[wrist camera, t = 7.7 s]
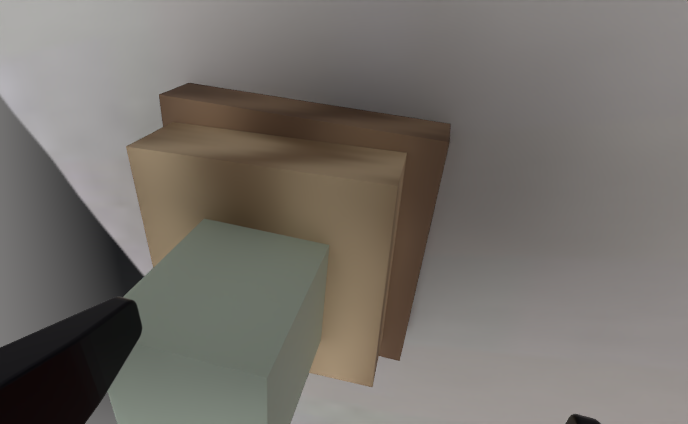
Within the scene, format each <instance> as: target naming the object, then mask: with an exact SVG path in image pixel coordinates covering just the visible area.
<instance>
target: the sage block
mask: <svg viewBox="0 0 688 424" xmlns="http://www.w3.org/2000/svg"><path fill="white" fill-rule="evenodd" d="M328 255H329V245H327V244H323V243H318V242H313V241H309V240H304V239H299V238H294V237H290V236H285V235H280V234H275V233H271V232H266V231H261V230H256V229H252V228H247V227H242V226H237V225H233V224H228V223H223V222H218V221H214V220H209V219H203V220H202V221H201V222H200V223H199V224H198V225H197V226H196V227H195V228H194V229H193V230H192V231H191V232H190V233H189V234H188V235H187V236H186V237H185V238H184V239H183V240H182V241H181V242H180V243H178V244H177V245H176V246H175V247H174V248H173V249H172V250H171V251H170V252H169V253H168V254H167V255H166V256H165V257H164V258H163V259H162V260H161V261H160V262H159V263H158V264H157V265H156V266H155V267H154V268H153V269H152V270H151V271H150V272H149V273H148V274H147V275H146V276H144V277H143V279H141V280H140V282H138V283H137V284H136V285H135V286H134V287H133V288H132V289H131V290H130V291H129V292H128V293H127V294H126V295H125V296H124V297H123V298H127V299H131V300H134V301H135V302H136V303H137V306H138V310H139V314H140V318H141V322H142V333H141V336H140V338H139V340H138V341H137V343H136V345H135V346H134V348H133V350H132V351H131V353H130V355H129V356H128V358H127V360H126V361H125V363H124V365H123V366H122V368H121V370H120V371H119V373H118V375H117V376H116V378H115V380H114V381H113V383H112V385H111V386H110V388H109V390H108V391H107V392H108V395H109V398H110V401H111V404H112V408H113V411H114V414H115V418H116V420H117V424H290V423H291V420H292V417H293V415H294V412H295V409H296V407H297V404H298V401H299V398H300V396H301V393H302V390H303V388H304V385H305V382H306V379H307V377H308V374H309V371H310V369H311V366H312V363H313V360H314V358H315V355H316V352H317V350H318V347H319V344H320V341H321V334H322V322H323V311H324V300H325V289H326V278H327V267H328Z"/></svg>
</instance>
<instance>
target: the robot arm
mask: <svg viewBox="0 0 688 424" xmlns="http://www.w3.org/2000/svg"><path fill="white" fill-rule="evenodd" d="M141 333H142V322H141V318H140V314H139V310H138V306H137V303H136V302H135V301H134V300H131V299H127V298H123V297H114V298H112V299H109V300H107V301H105V302H102V303H100V304H98V305H96V306H93V307H91V308H89V309H86V310H84V311H82V312H80V313H77V314H75V315H73V316H71V317H68V318H66V319H64V320H62V321H59V322H57V323H55V324H53V325H51V326H48V327H46V328H44V329H41V330H39V331H37V332H35V333H32V334H30V335H28V336H25V337H23V338H21V339H19V340H17V341H14V342H12V343H10V344H7V345H5V346H3V347H1V348H0V424H85V423H86V421H87V420H88V419H89V417H90V416H91V415H92V413H93V412H94V410H95V409H96V408H97V406H98V405H99V403H100V402H101V400H102V399H103V397H104V396H105V394H106V393H107V391H108V390H109V388H110V386H111V385H112V383H113V381H114V380H115V378H116V376H117V375H118V373H119V371H120V370H121V368H122V366H123V365H124V363H125V361H126V360H127V358H128V356H129V355H130V353H131V351H132V350H133V348H134V346H135V345H136V343H137V341H138V340H139V338H140V336H141ZM566 424H601V423H600V422H598V421H597V420H596V419H593V418H590V417H586V416H582V415H578V414H573V415H571V416H570V417H569V419H568V420H567V422H566Z"/></svg>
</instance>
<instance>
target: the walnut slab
mask: <svg viewBox="0 0 688 424" xmlns="http://www.w3.org/2000/svg"><path fill="white" fill-rule="evenodd" d="M159 99H160V106H161V114H162V121H163V127H165V126H167V125H169V124H170V123H172V122H176V123H183V124H191V125H198V126H206V127H214V128H221V129H229V130H237V131H244V132H252V133H259V134H267V135H275V136H282V137H290V138H297V139H305V140H313V141H320V142H328V143H336V144H343V145H351V146H358V147H366V148H374V149H381V150H389V151H397V152H404V153H407V156H406V163H405V171H404V178H403V186H402V193H401V201H400V208H399V216H398V223H397V231H396V238H395V246H394V253H393V261H392V269H391V276H390V284H389V291H388V299H387V306H386V314H385V321H384V329H383V336H382V342H381V347H380V351H379V356H382V357H386V358H390V359H394V360H398V361H400V356H401V352H402V348H403V343H404V339H405V335H406V330H407V326H408V321H409V317H410V313H411V308H412V304H413V300H414V295H415V291H416V286H417V282H418V278H419V273H420V269H421V265H422V260H423V256H424V252H425V247H426V243H427V238H428V234H429V230H430V225H431V221H432V217H433V212H434V208H435V204H436V199H437V195H438V190H439V186H440V182H441V177H442V173H443V169H444V164H445V160H446V156H447V151H448V147H449V142H450V124H448V123H441V122H435V121H429V120H422V119H416V118H409V117H403V116H397V115H390V114H384V113H377V112H371V111H365V110H358V109H352V108H346V107H339V106H333V105H326V104H320V103H314V102H307V101H301V100H295V99H288V98H282V97H275V96H269V95H263V94H256V93H250V92H243V91H237V90H231V89H224V88H218V87H212V86H205V85H199V84H192V83H187V84H185V85H182V86H180V87H177V88H175V89H172V90H170V91H167V92H165V93H162V94H160V95H159Z"/></svg>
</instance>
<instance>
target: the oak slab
mask: <svg viewBox="0 0 688 424" xmlns="http://www.w3.org/2000/svg"><path fill="white" fill-rule="evenodd" d="M126 148H127V153H128V157H129V162H130V166H131V171H132V175H133V179H134V184H135V188H136V193H137V197H138V202H139V206H140V211H141V215H142V220H143V224H144V228H145V233H146V237H147V242H148V246H149V251H150V255H151V260H152V264H153V268H154V267H155V266H156V265H157V264H158V263H159V262H160V261H161V260H162V259H163V258H164V257H165V256H166V255H167V254H168V253H169V252H170V251H171V250H172V249H173V248H174V247H175V246H176V245H177V244H178V243H180V242H181V241H182V240H183V239H184V238H185V237H186V236H187V235H188V234H189V233H190V232H191V231H192V230H193V229H194V228H195V227H196V226H197V225H198V224H199V223H200V222H201V221H202V220H203V219H209V220H214V221H218V222H223V223H228V224H233V225H237V226H242V227H247V228H252V229H256V230H261V231H266V232H271V233H275V234H280V235H285V236H290V237H294V238H299V239H304V240H309V241H313V242H318V243H323V244H327V245H329V255H328V267H327V278H326V289H325V300H324V311H323V322H322V334H321V341H320V344H319V347H318V350H317V352H316V355H315V358H314V360H313V363H312V366H311V369H310V371H309V373H313V374H317V375H322V376H326V377H330V378H335V379H339V380H343V381H348V382H352V383H356V384H361V385H365V386H369V387H372V386H373V381H374V376H375V371H376V366H377V361H378V356H379V351H380V347H381V342H382V336H383V329H384V321H385V314H386V306H387V299H388V291H389V284H390V276H391V269H392V261H393V253H394V246H395V238H396V231H397V223H398V216H399V208H400V201H401V193H402V186H403V178H404V171H405V163H406V156H407V153H404V152H397V151H389V150H381V149H374V148H366V147H358V146H351V145H343V144H336V143H328V142H320V141H313V140H305V139H297V138H290V137H282V136H275V135H267V134H259V133H252V132H244V131H237V130H229V129H221V128H214V127H206V126H198V125H191V124H183V123H176V122H172V123H170V124H169V125H167V126H165V127H163V128H161V129H159V130H157V131H155V132H153V133H151V134H149V135H147V136H145V137H144V138H142V139H140V140H138V141H136V142H134V143H132V144H130V145H128V146H126Z"/></svg>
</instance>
